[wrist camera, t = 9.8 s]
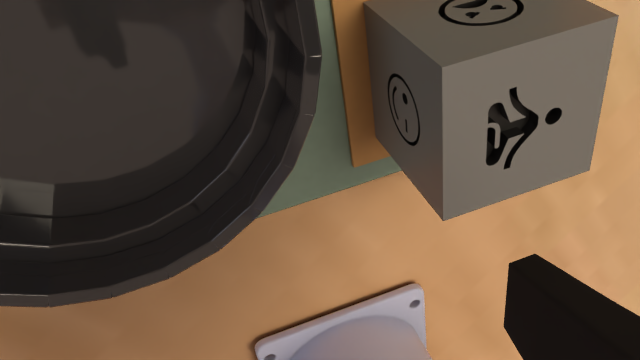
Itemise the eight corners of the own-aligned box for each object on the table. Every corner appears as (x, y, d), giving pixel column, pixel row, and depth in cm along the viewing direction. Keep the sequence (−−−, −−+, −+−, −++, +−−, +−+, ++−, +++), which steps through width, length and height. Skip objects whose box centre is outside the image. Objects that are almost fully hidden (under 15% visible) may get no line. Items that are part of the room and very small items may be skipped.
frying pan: (316, 166, 21) (347, 219, 19) (-71, 290, 19) (-93, 368, 16) (231, -307, 13) (266, -324, 11) (-469, -193, 11) (-631, -181, 8)
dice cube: (363, 1, 18) (442, 67, 14) (507, -37, 19) (618, 15, 15) (375, 137, 21) (443, 221, 17) (498, 98, 22) (589, 170, 18)
